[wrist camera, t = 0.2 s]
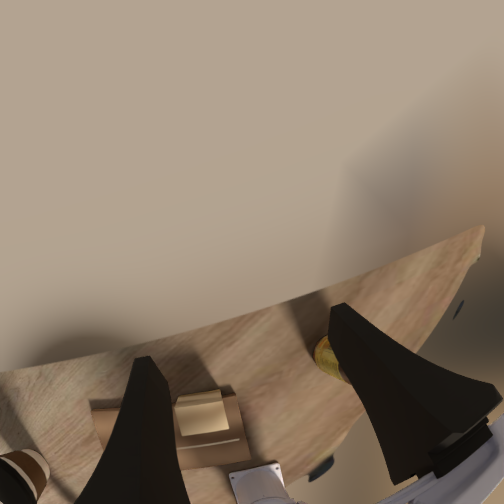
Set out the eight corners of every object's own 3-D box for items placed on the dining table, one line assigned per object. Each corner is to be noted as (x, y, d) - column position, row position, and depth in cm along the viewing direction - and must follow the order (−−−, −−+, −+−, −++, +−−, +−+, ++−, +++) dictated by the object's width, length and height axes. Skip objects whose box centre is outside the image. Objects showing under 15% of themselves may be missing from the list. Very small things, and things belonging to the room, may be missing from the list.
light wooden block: (225, 413, 37) (229, 428, 31) (185, 420, 36) (182, 436, 30) (219, 389, 38) (222, 400, 32) (178, 395, 37) (174, 408, 31)
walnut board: (250, 455, 36) (251, 459, 35) (114, 468, 32) (112, 472, 31) (235, 393, 38) (236, 395, 37) (93, 408, 34) (90, 411, 33)
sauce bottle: (345, 329, 43) (431, 330, 24) (349, 367, 42) (434, 389, 23) (306, 337, 42) (379, 347, 23) (311, 376, 41) (383, 411, 21)
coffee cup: (72, 481, 30) (45, 513, 18) (39, 491, 27) (11, 518, 16) (35, 430, 31) (-2, 452, 19) (5, 444, 28) (-30, 463, 17)
